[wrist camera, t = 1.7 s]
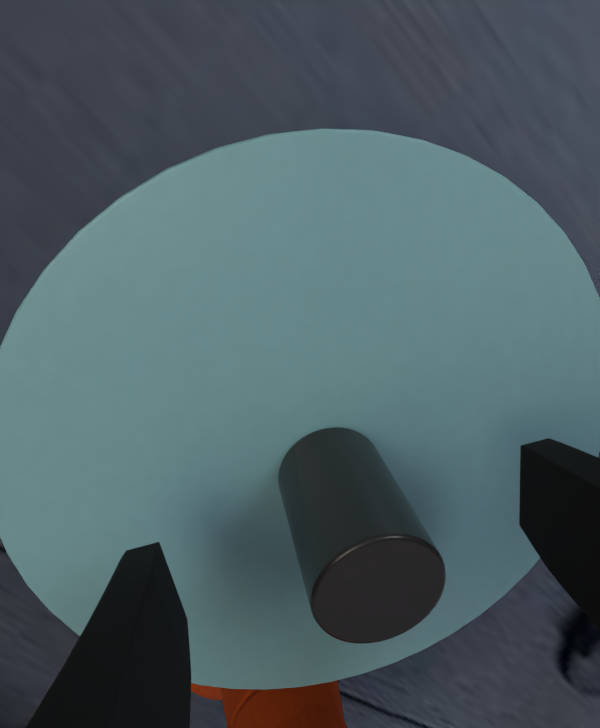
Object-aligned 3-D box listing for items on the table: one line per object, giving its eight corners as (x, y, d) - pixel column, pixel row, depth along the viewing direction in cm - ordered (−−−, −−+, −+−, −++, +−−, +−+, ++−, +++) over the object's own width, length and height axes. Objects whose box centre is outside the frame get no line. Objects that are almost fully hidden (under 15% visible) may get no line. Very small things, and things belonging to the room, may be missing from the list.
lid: (603, 72, 11) (869, 29, 7) (567, 577, 17) (695, 725, 13) (-136, 207, 9) (-409, 265, 5) (116, 711, 15) (88, 931, 11)
